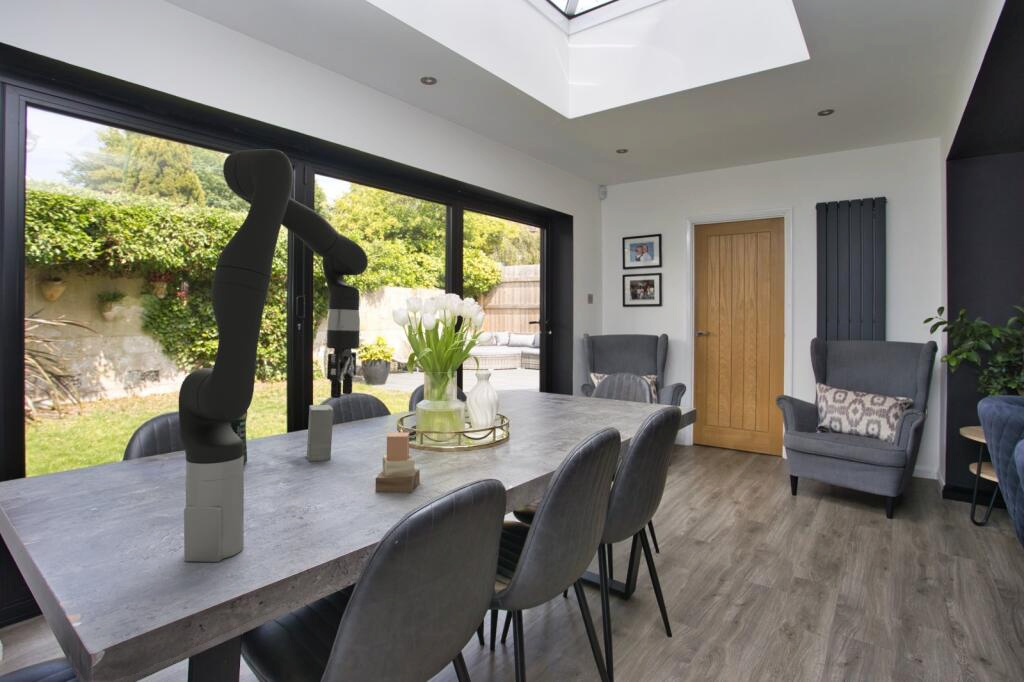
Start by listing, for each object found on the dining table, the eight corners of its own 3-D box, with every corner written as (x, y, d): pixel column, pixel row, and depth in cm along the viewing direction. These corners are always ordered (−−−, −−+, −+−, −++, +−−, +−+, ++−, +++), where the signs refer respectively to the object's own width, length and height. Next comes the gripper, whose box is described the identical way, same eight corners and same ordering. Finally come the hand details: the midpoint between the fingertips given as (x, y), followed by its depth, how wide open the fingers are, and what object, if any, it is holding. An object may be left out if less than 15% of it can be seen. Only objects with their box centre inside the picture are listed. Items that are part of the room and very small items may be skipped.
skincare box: (306, 455, 172) (306, 405, 171) (330, 453, 175) (330, 403, 174) (308, 462, 164) (308, 409, 163) (333, 459, 167) (333, 407, 166)
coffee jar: (232, 471, 153) (232, 404, 152) (205, 469, 154) (205, 403, 153) (252, 462, 163) (252, 399, 162) (227, 461, 164) (227, 398, 163)
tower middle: (414, 476, 139) (414, 460, 138) (386, 478, 136) (386, 462, 136) (409, 468, 145) (409, 453, 145) (382, 470, 143) (382, 455, 143)
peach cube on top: (406, 460, 138) (407, 436, 138) (386, 460, 138) (386, 436, 137) (408, 455, 143) (409, 432, 143) (389, 455, 143) (389, 432, 142)
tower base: (411, 494, 136) (411, 478, 136) (375, 493, 137) (375, 477, 137) (419, 484, 145) (419, 469, 145) (385, 483, 146) (385, 468, 146)
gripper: (349, 329, 126) (348, 399, 127) (367, 329, 141) (365, 393, 141) (317, 328, 126) (315, 398, 127) (337, 328, 141) (336, 392, 141)
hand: (341, 395), depth 134 cm, fingers open, 8 cm apart
